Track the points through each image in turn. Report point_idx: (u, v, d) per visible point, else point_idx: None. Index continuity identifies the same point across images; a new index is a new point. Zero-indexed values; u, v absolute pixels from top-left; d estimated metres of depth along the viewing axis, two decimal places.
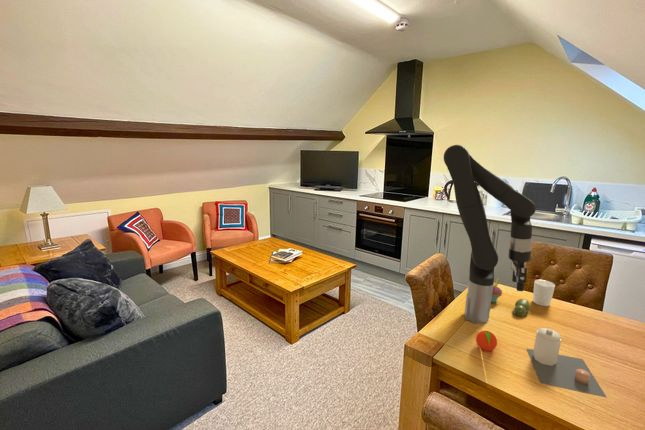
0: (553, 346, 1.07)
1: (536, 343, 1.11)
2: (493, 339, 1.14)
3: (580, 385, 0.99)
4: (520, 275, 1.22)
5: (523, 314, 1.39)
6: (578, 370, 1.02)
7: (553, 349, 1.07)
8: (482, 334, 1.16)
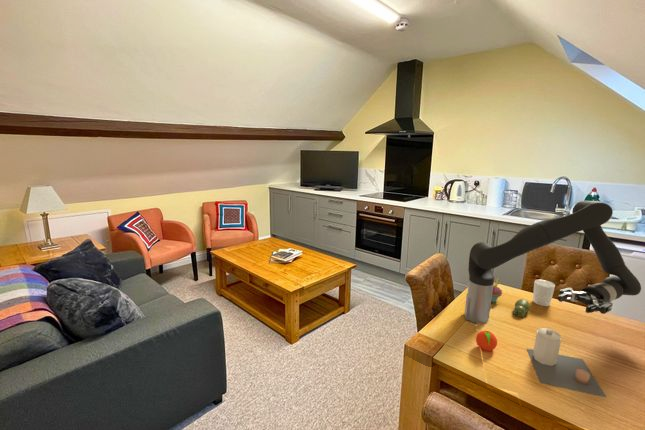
0: (553, 346, 1.07)
1: (536, 343, 1.11)
2: (493, 339, 1.14)
3: (580, 385, 0.99)
4: (609, 306, 1.08)
5: (523, 314, 1.38)
6: (578, 370, 1.02)
7: (553, 349, 1.07)
8: (482, 334, 1.16)
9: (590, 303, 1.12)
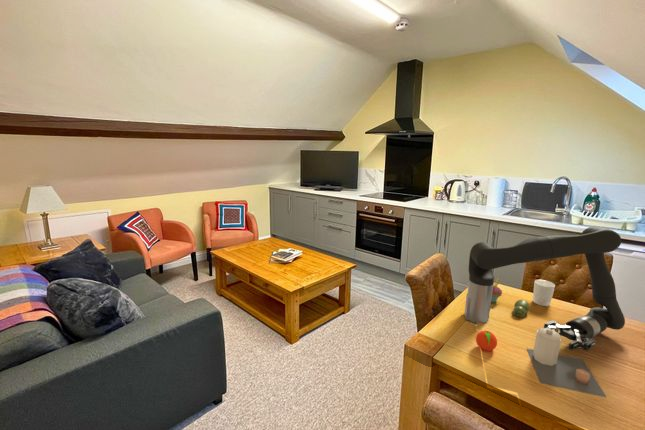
0: (553, 346, 1.07)
1: (536, 343, 1.11)
2: (493, 339, 1.14)
3: (580, 385, 0.99)
4: (591, 343, 1.09)
5: (522, 315, 1.38)
6: (578, 370, 1.02)
7: (553, 349, 1.07)
8: (482, 334, 1.16)
9: (573, 338, 1.13)
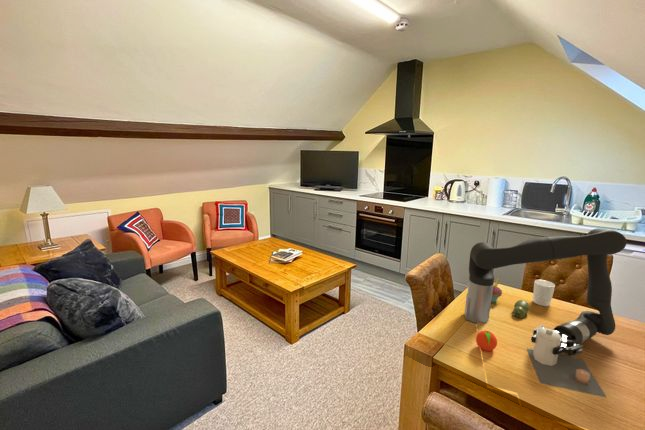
0: (553, 346, 1.07)
1: (536, 343, 1.11)
2: (493, 339, 1.14)
3: (580, 385, 0.99)
4: (577, 349, 1.06)
5: (522, 315, 1.38)
6: (578, 370, 1.02)
7: None
8: (482, 334, 1.16)
9: (560, 343, 1.10)
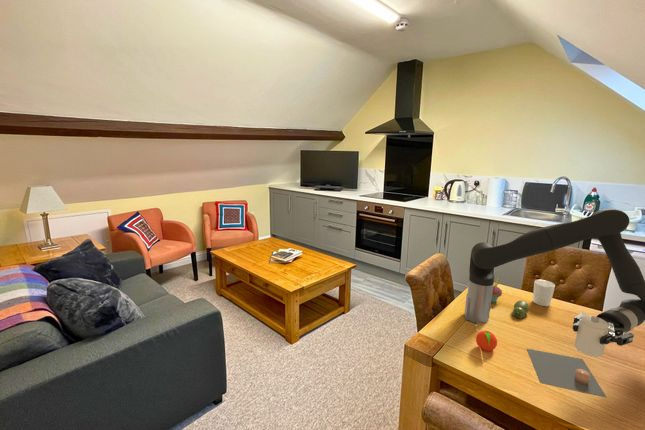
0: (600, 335, 0.94)
1: (579, 332, 0.98)
2: (493, 339, 1.14)
3: (580, 385, 0.99)
4: (628, 338, 0.94)
5: (522, 316, 1.37)
6: (578, 370, 1.02)
7: (600, 338, 0.94)
8: (482, 334, 1.16)
9: None
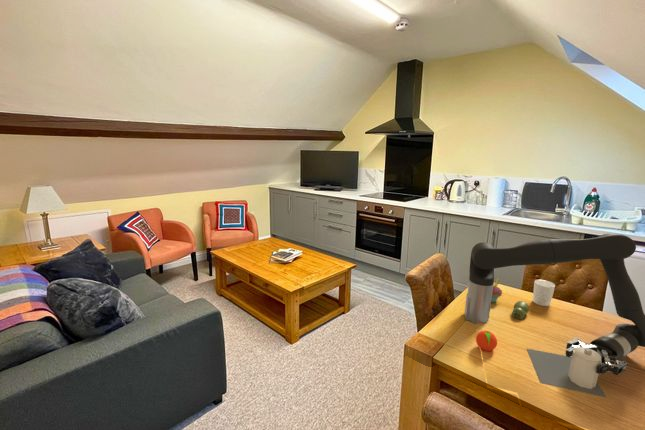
0: (593, 368, 0.97)
1: (573, 363, 1.01)
2: (493, 339, 1.14)
3: None
4: (623, 367, 0.96)
5: (522, 316, 1.37)
6: None
7: (593, 371, 0.97)
8: (482, 334, 1.16)
9: None
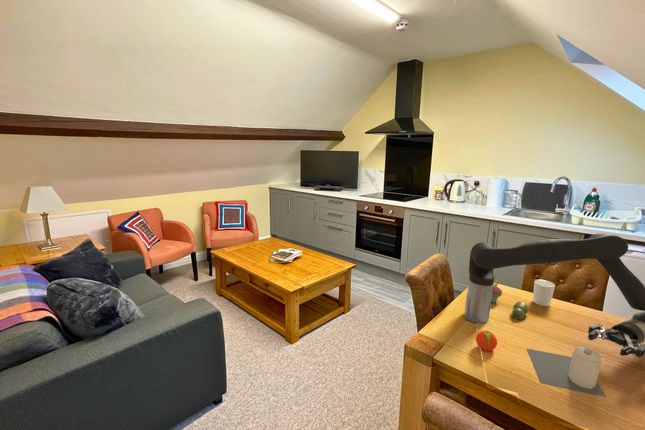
0: (593, 367, 0.97)
1: (573, 363, 1.01)
2: (493, 339, 1.14)
3: None
4: None
5: (521, 317, 1.36)
6: None
7: (593, 371, 0.97)
8: (482, 334, 1.16)
9: (623, 344, 1.05)
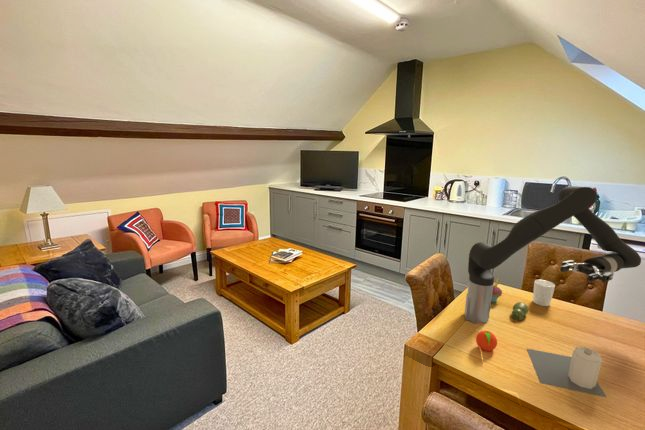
0: (593, 367, 0.97)
1: (573, 363, 1.01)
2: (493, 339, 1.14)
3: None
4: (610, 275, 1.12)
5: (521, 318, 1.36)
6: None
7: (593, 371, 0.97)
8: (482, 334, 1.16)
9: (592, 273, 1.16)
